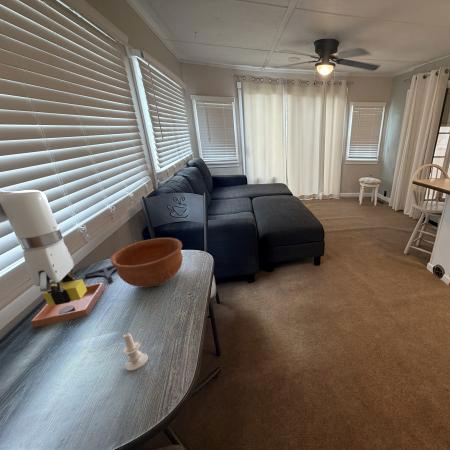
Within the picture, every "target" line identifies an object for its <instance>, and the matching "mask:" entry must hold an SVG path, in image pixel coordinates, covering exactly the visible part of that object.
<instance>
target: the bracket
mask: <svg viewBox="0 0 450 450" xmlns="http://www.w3.org/2000/svg"><path fill="white" fill-rule="evenodd" d="M110 269H111V270H110ZM115 270H116V271H117V269H116V267H115V266H114V265H112V264H111V265H110V266H105V267H103V268H100V269H99V268H98V269H97V270H94V271H89V272H87V273H84V274H83V276H84V278H90V277H98V276H99V277H100V276H102V277H104V278H106V279H107V282H108V283H109V284H110V283H113V282H114V281H113V278H112V276H111V275H112V273H114V272H115ZM101 272H102V273H101Z"/></svg>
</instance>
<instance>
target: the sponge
mask: <svg viewBox="0 0 450 450" xmlns="http://www.w3.org/2000/svg"><path fill="white" fill-rule="evenodd" d="M51 285H52V286H56V287H57V283H56V284H51ZM62 285H63V288H64V289H66V290H67V293H68V295H69V297H70V299H71V301H75V300H79V299H81V298H82V297H83V295H84V294H85V293H86V291H87V289H86V286H87V285H86V284H85V282H84V280H83V278H80V279H75V280H74V281H69V282H64V283H62ZM42 295H43V297H44V299H45V301H46V304H47V303H48V305H49V306H51V305H55V303H54V301H53V299H52V297H51V294H48V292H43V293H42Z"/></svg>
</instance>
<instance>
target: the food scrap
mask: <svg viewBox="0 0 450 450" xmlns="http://www.w3.org/2000/svg"><path fill="white" fill-rule="evenodd" d="M72 311H76V309H75V307H74V306H73V305H70V306H66V307H64V308H62V309H61V310H59V314H63V313H68V312H72Z"/></svg>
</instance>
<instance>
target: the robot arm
mask: <svg viewBox="0 0 450 450" xmlns="http://www.w3.org/2000/svg"><path fill="white" fill-rule="evenodd" d="M7 221H8V222H9V224H10V226H11V228H12V230H13V232H14V234H15V236H16V238H17V241H18V242H19V244H20V247H21V249H22V250H23V258H24V262H25V264H26V265H25V267H26V269H27V271H28V273H29V276H30V278H31V281H32V283H33V285H34V286H36V287H39V291H40V292H41V293H42V292H43V293H44V292H48V294H51V297H52V299H53V301H54V303H55V305H59V304H64V303H69V302H70V301H71V299H70V297H69V295H68V293H67V290H66V289H64V288H63V285H62V283H64V282H69V281H74V280H76V279H75V278H76V277H75V274H74V266H75V264H74V260H73V257H72V255H71V253H70V251H69V249H68V247H67V245H66V244H65V242H64V237H63V234H62V232H61V230H60V227H59V224H58V223H57V220H56V218H55V215H54V213H53V211H52V208H51V206H50V203H49V201H48V198H47V196H46V195H45V193H44V192H42V191H41V190H36V189H28V190H19V191H18V190H17V191H11V190H9V191H8V190H0V224H2V223H5V222H7ZM53 284H57V287H56V286H52V285H53Z"/></svg>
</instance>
